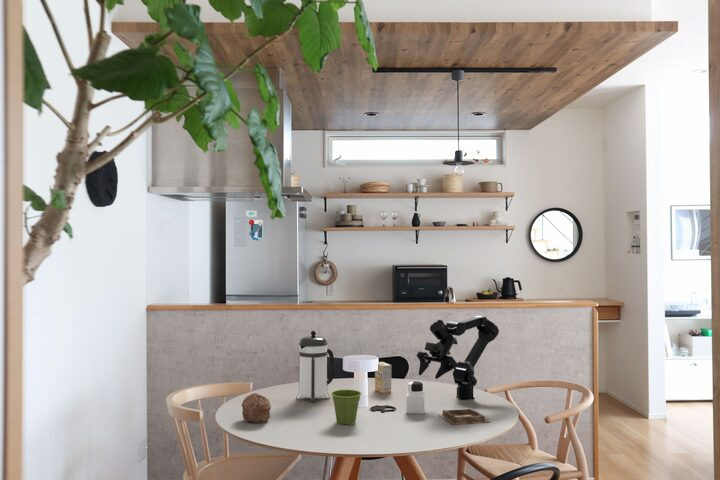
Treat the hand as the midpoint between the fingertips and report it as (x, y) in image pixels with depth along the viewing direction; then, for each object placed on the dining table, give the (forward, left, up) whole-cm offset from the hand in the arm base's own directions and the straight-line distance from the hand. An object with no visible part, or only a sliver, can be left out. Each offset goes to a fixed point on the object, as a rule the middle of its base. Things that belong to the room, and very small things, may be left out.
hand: (427, 376), depth 263 cm
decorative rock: (+71, +2, -13) cm, 72 cm away
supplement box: (+10, -33, -13) cm, 37 cm away
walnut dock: (-8, +18, -14) cm, 24 cm away
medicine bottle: (+7, +4, -13) cm, 16 cm away
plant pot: (+38, +13, -13) cm, 42 cm away
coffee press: (+43, -28, -13) cm, 53 cm away
